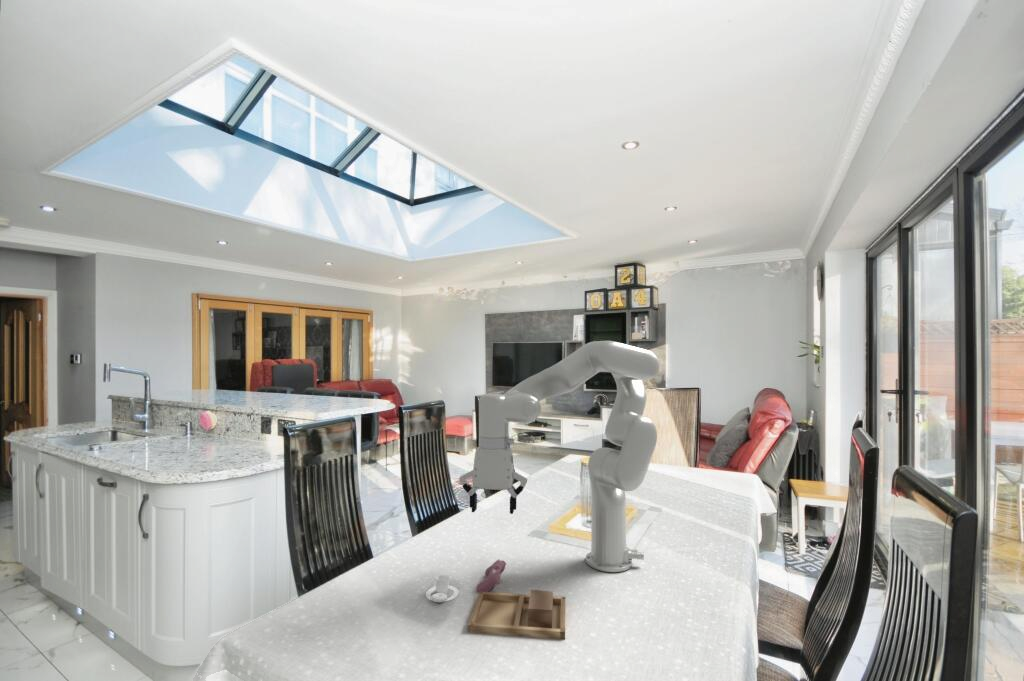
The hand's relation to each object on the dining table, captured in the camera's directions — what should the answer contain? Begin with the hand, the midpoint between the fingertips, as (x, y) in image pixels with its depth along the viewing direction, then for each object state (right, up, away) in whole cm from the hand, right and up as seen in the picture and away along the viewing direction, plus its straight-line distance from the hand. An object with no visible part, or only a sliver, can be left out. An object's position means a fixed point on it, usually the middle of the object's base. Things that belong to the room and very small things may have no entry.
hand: (492, 511), depth 118 cm
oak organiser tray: (+6, -18, -16) cm, 25 cm away
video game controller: (0, -19, -1) cm, 19 cm away
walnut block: (+11, -17, -16) cm, 26 cm away
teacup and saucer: (-15, -19, -6) cm, 25 cm away
